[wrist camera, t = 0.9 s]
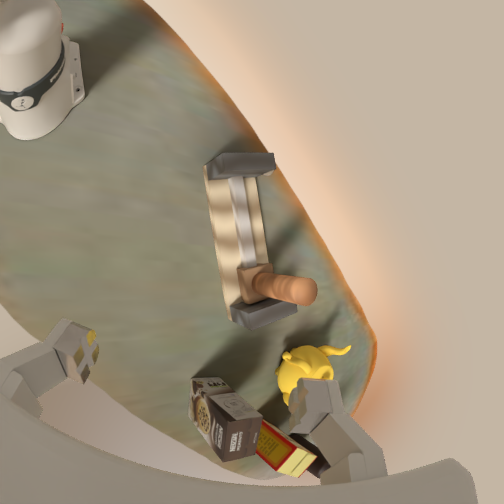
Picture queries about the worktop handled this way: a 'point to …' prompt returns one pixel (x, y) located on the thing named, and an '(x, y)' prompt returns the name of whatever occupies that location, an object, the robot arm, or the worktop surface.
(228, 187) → the track
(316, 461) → the bottle
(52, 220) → the worktop surface
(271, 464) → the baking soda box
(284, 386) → the teapot
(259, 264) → the wooden peg on plate
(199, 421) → the coffee box
